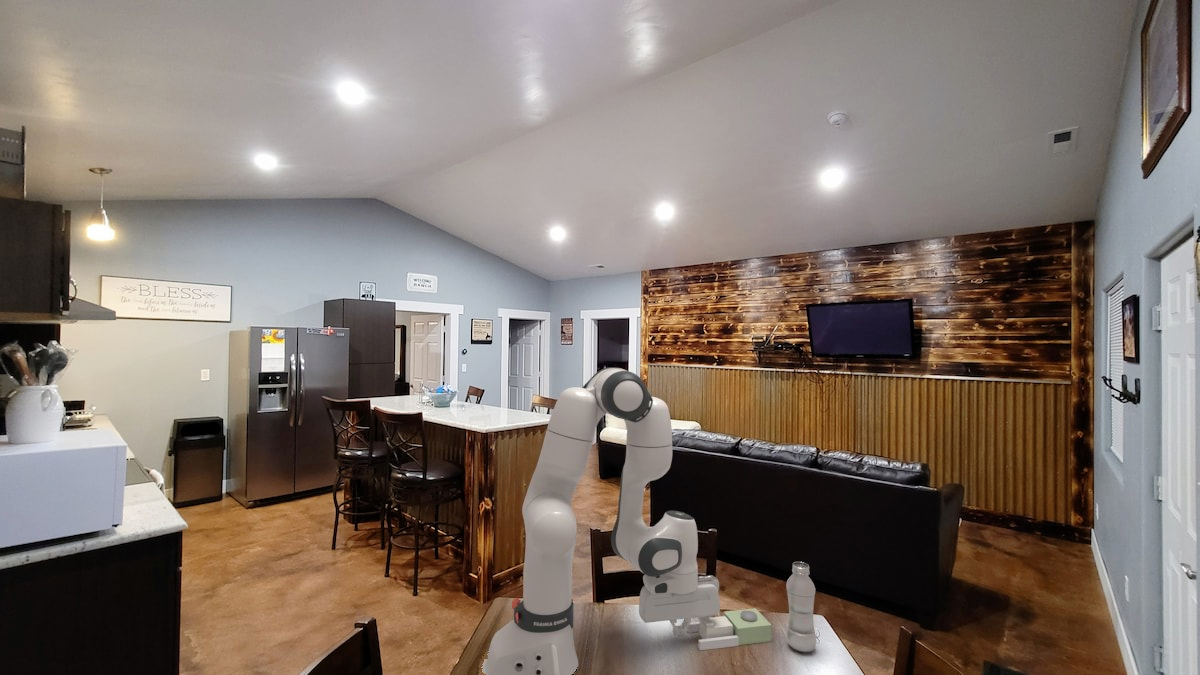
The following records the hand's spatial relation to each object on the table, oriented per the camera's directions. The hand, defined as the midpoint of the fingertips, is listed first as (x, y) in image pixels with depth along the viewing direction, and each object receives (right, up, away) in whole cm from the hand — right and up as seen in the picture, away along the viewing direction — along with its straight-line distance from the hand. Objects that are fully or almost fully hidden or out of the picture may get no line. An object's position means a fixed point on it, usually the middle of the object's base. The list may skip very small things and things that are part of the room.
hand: (679, 634), depth 122 cm
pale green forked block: (+13, -2, +3) cm, 13 cm away
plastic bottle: (+29, -2, -2) cm, 29 cm away
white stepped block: (+9, -2, +2) cm, 10 cm away
